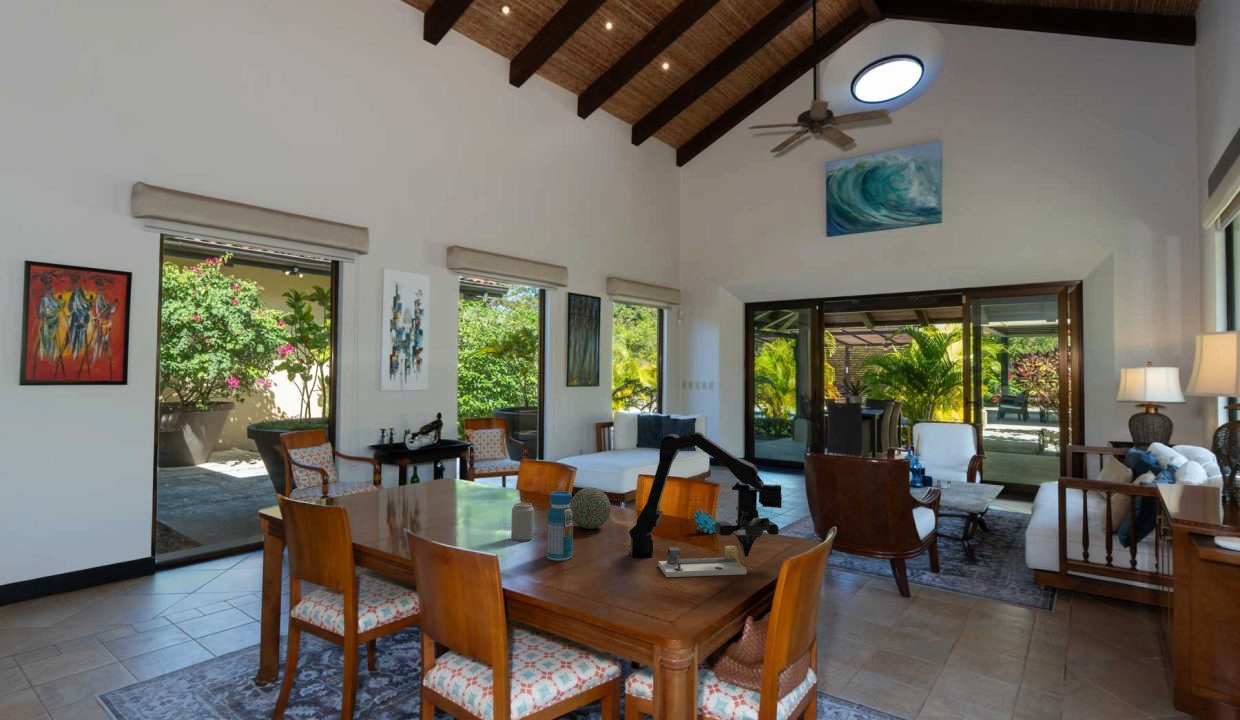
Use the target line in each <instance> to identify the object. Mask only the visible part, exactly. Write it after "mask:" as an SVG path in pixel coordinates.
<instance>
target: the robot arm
mask: <svg viewBox="0 0 1240 720" xmlns="http://www.w3.org/2000/svg"><path fill="white" fill-rule="evenodd" d="M691 447H697V448H698V449H699V450H701V451H703V452H704V453H706V454H707V455H708V456H710V457H712V458H713V459H714V460H716V461H717V462H718V463H720V464H722V465H723V466H724V467H726V468H727V469H728V470H729V472H730V473H732V475H733V476H734V477H735V478H736V479H737V480H738V481H736V483H735V484H734V485H732V488H731V490H732V491H737V506H735V510H736V511H737V513H736V514H737V519H735V524H731V523H729V522H728V521H717V522H716V523H715V531H716V532H715V533H717V534H718V535H719V536H722V537H724V536H726V537H727V536H731V535H734V536H735V537H736V539H737V540H738V542H739V543H738V544H739V546H740V548H741V551H742V554H743V556H744V557H746V558H748V556H749V554H750V552H751V549H752V547H753V545H754V543H755V540H757V539H759V538H761V536H763V534H764V532H766V533H767V534H768V535H771V536H772V535H773V536H774V535H779V534H780V532H779V531H780V529H779V526H778V524H776V523H775V522H773V521H770V519H769V518H768V517H761V518H760V515H759V510H758V508H757V507H758V505H757V504H758V503H759V504H760V505H761V506H762V507H763V508H772V509H773V508H776V509H782V503H783V502H782V501H783V494H782V485H781V484H774V485H773V484H765V483H764V481H763V480H762V478H761V477H760V476H759V470H758V468H757V466H756V465H755V464H754V463H751V462H749V461H747V460H746V459H743V458H739V457H737V456H734V455H733V454H732V453H730V452H729V451H727V450H726V449H724V448H723V447H722V446H720V445H719V444H717V443H715V442H714V441H712V440H711V439H710V438H708V437H706V436H705V435H704V433H702V432H701V431H697V432H694V433H688V434H681V435H678V434H676V433H670V434H668V435H666V436H664V437H662V438H661V441H660V445H659V451H658V452H659V460H658V465H657V468H656V471H655V475H654V478H653V481H652V484H651V488H650V492H649V494H648V497H647V500H646V503H645V505H644V507H643V509H642V510H641V511H640V513H639V516H638V518H637V520H636V523H635V525H634V526H633V527H632V528H631V529H630V530H629V531H628V533H629V536H630V547H629V548H630V549H629V550H628V552H629V553H630V555H631V557H632V558H652V557H654V556H653V553H654V540H653V539H652V535H651V533H652V532H653V531H654V529H655V528H657V527H658V526H659V525H660V523H661V519H662V518H661V517H662V516H663V514H664V511H663V510H660V503H661V500H662V497H663V494H664V491H665V487H666V484H667V482H668V477H669V474H670V471H671V469H672V465H673V463H674V461H675V459H677V455H678V453H679V452H680V450H682V449H687V448H691ZM740 482H741V483H740Z"/></svg>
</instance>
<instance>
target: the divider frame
mask: <svg viewBox="0 0 1240 720" xmlns="http://www.w3.org/2000/svg"><path fill="white" fill-rule="evenodd" d="M737 559H738V560H739V558H737ZM666 561H667V564H677V565H678V568H680V567H681V565H680V564H693V563H723V562H735V561H734V560H733V559H728V558H727V557H726V556H725V557H700V558H698V557H697V558H681V549H680V548H679V547H678V546H676V547H667V559H666Z"/></svg>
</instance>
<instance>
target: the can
mask: <svg viewBox="0 0 1240 720" xmlns="http://www.w3.org/2000/svg"><path fill="white" fill-rule="evenodd" d="M534 511H535V508H534V507H533V504H532V503H530V502H515V503H514V504H513V507H512V508H511V527H510V528H511V534H510V535H511V536H510V537H511V538H512V539H513V541H516V542H527V541H531V539H532V538H533V537H534V514H535V513H534Z"/></svg>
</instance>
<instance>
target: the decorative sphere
mask: <svg viewBox="0 0 1240 720" xmlns="http://www.w3.org/2000/svg"><path fill="white" fill-rule="evenodd" d="M610 501H611V500H610V498H609V496H608V495H607V494H606V493H605V492H604V491H603V490H601V489H599V488H597V487H594V486H593V487H592V486H591V487H590V486H589V487H584V488H582V489H580V490H578V491H577V492H576V493H575V494H574V496H572V497H571V504H570V505H569V506H570V507H571V509H572V511H573V518H572V520H573V522H575V524H577V525H578V526H580V528H583V529H587V530H593V529H597V528H599V527H601V526H603V525H604V524H605V523H606V522H607V521H608V519H609V517H610V514H611V502H610Z"/></svg>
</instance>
